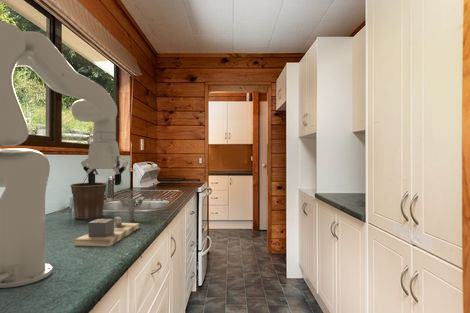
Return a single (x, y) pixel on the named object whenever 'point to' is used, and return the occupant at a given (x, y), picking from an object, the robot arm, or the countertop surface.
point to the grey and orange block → (101, 227)
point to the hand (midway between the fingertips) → (104, 184)
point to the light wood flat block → (119, 233)
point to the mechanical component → (131, 205)
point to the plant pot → (88, 200)
